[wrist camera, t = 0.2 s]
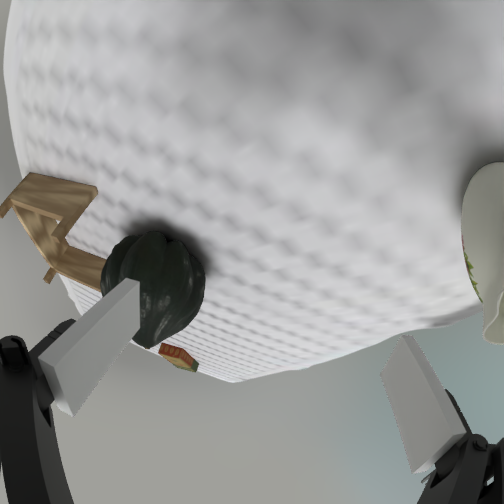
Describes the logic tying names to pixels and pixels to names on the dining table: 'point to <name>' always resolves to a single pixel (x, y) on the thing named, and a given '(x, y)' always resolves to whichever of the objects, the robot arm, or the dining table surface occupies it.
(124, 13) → the dining table surface
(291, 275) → the dining table surface
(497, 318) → the pitcher
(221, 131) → the dining table surface
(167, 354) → the carton
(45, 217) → the rack
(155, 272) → the squash
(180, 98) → the dining table surface
